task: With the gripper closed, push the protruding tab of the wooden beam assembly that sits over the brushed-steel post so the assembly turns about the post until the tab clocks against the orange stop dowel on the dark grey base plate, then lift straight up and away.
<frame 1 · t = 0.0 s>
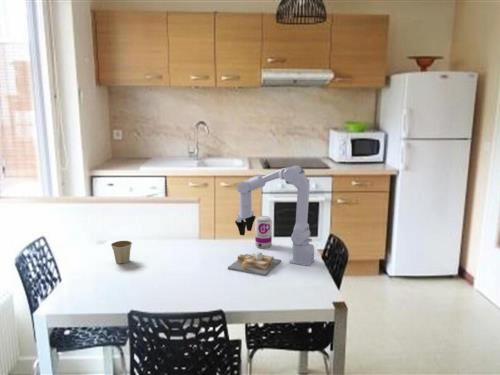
hand: (245, 232, 208), 10 cm above the table, fingers open, 7 cm apart
flower pot: (122, 261, 201), on the table
base plate: (255, 265, 194), on the table
wooden beam assembly: (253, 260, 194), point 2 cm above the table, hinge at 0.0°
supplement can: (263, 246, 219), on the table
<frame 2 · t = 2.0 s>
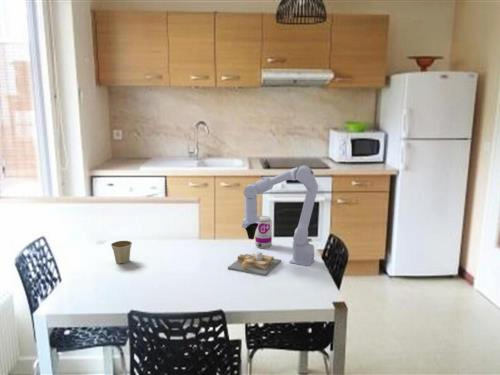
hand: (251, 238, 200), 10 cm above the table, fingers closed
nothing on the table moved.
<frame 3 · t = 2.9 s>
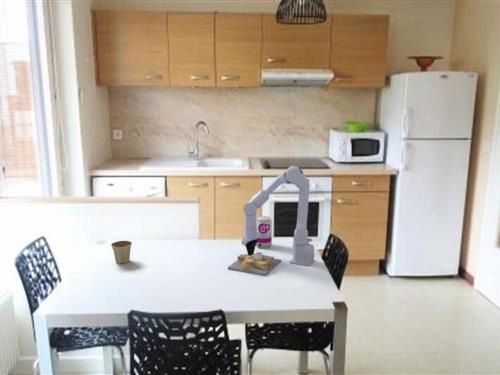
hand: (250, 255, 201), 2 cm above the table, fingers closed
nothing on the table moved.
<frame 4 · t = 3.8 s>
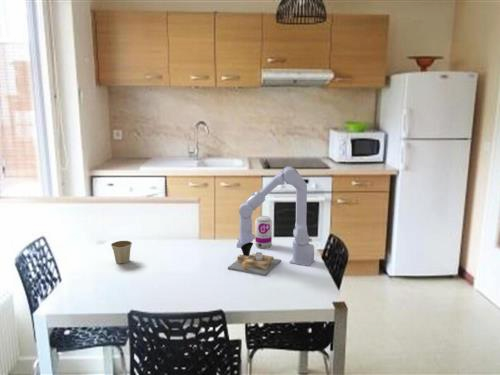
hand: (246, 258, 198), 2 cm above the table, fingers closed, pressing on wooden beam assembly
wooden beam assembly: (253, 260, 194), point 2 cm above the table, hinge at 1.7°, touching gripper
everything else where it was.
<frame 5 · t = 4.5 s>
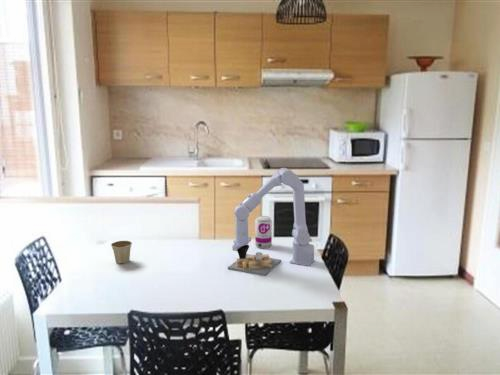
hand: (242, 260, 195), 2 cm above the table, fingers closed, pressing on wooden beam assembly
wooden beam assembly: (253, 261, 193), point 2 cm above the table, hinge at 33.9°, touching gripper
everything else where it was.
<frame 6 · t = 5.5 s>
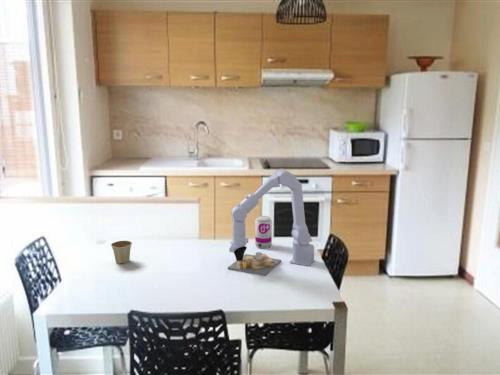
hand: (239, 262, 193), 2 cm above the table, fingers closed
wooden beam assembly: (253, 262, 192), point 2 cm above the table, hinge at 49.2°, touching gripper
everything else where it was.
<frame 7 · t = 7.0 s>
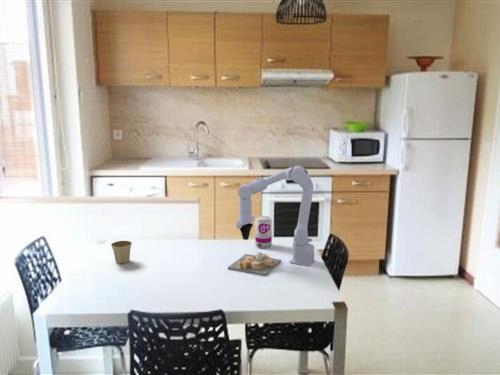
hand: (245, 239, 200), 10 cm above the table, fingers closed
wooden beam assembly: (253, 262, 192), point 2 cm above the table, hinge at 49.5°
everything else where it was.
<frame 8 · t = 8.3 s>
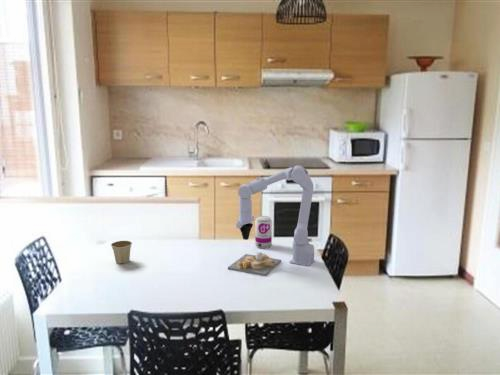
hand: (245, 239, 200), 10 cm above the table, fingers closed
nothing on the table moved.
at the end: wooden beam assembly at +50° (first picture: +0°) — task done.
